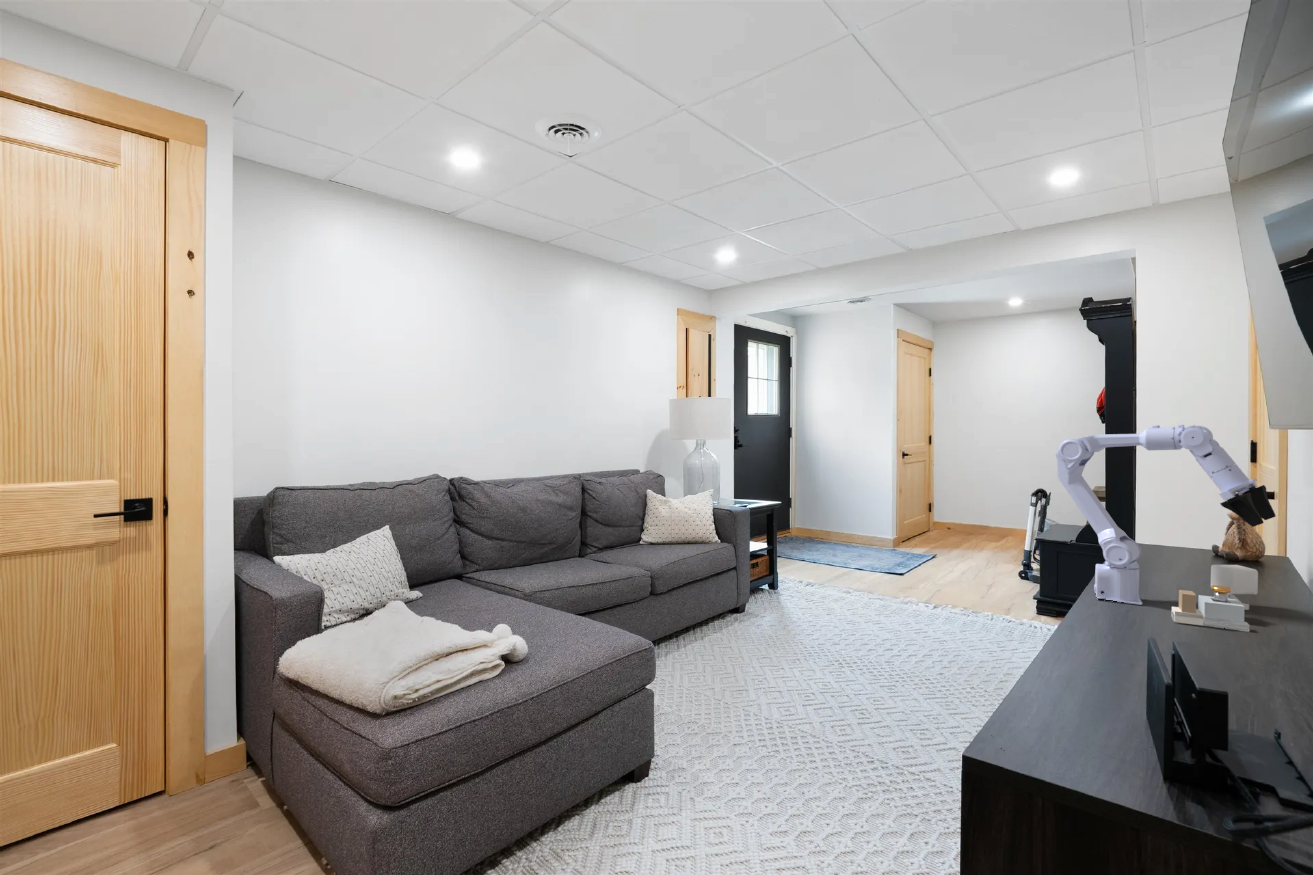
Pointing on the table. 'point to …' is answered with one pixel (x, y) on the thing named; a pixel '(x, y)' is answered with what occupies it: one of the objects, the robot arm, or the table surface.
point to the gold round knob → (1221, 593)
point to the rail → (1223, 623)
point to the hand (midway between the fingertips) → (1264, 521)
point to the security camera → (1235, 580)
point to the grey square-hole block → (1221, 608)
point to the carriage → (1187, 609)
